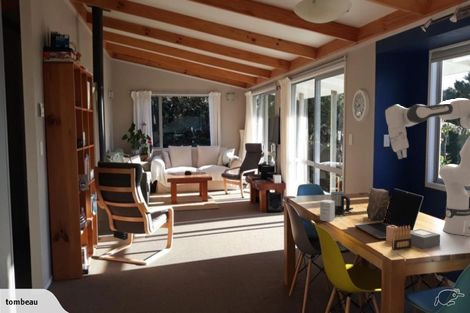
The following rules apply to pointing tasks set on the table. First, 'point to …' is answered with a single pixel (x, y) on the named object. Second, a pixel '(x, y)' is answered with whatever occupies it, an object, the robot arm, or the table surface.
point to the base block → (424, 239)
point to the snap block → (390, 232)
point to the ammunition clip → (401, 238)
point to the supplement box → (327, 210)
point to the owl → (377, 204)
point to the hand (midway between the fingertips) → (402, 158)
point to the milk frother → (340, 202)
